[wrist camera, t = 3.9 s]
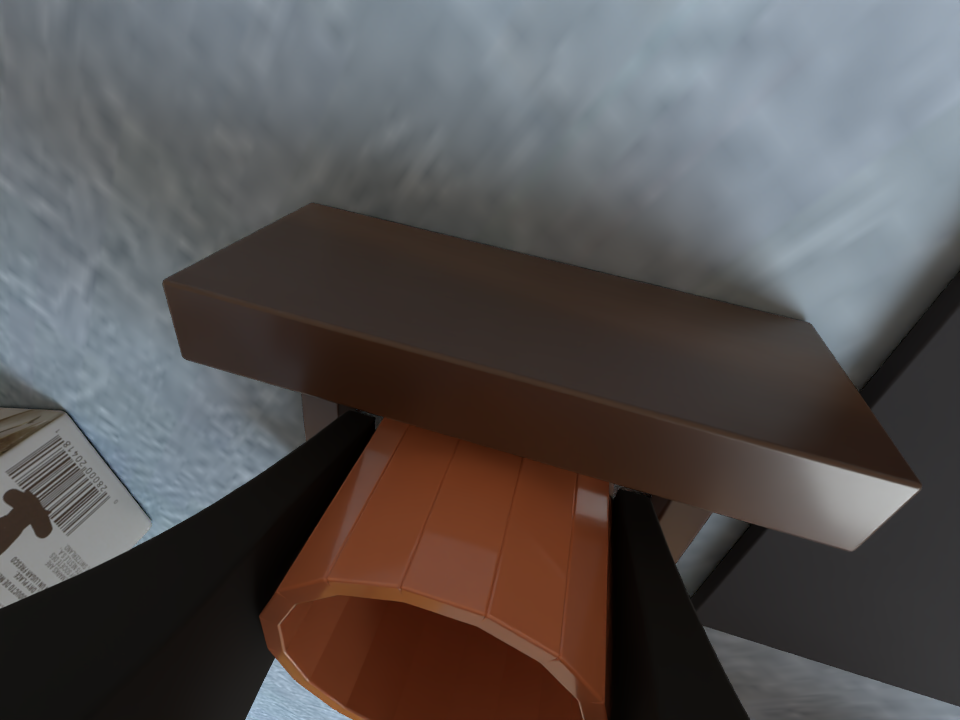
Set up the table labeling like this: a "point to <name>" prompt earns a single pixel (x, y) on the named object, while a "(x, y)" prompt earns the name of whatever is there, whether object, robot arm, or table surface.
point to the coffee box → (57, 504)
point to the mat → (872, 544)
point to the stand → (551, 370)
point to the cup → (452, 587)
